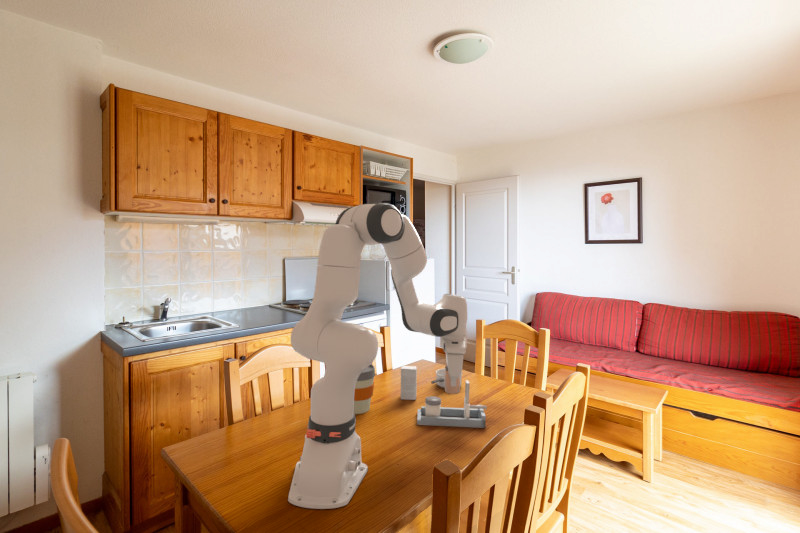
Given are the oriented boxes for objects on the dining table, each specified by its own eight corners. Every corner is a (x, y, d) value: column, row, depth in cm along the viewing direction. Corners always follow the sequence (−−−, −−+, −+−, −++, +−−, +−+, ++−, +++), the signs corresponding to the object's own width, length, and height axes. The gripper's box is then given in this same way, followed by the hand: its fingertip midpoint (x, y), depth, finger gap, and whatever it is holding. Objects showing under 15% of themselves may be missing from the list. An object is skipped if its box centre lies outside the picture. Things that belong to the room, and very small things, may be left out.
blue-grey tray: (485, 427, 124) (485, 415, 124) (417, 424, 126) (417, 412, 125) (481, 416, 133) (481, 404, 133) (417, 413, 135) (417, 401, 134)
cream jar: (441, 423, 127) (441, 402, 127) (424, 422, 127) (425, 402, 127) (440, 416, 132) (440, 396, 132) (424, 415, 133) (425, 395, 132)
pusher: (487, 425, 126) (488, 385, 125) (465, 423, 126) (466, 384, 126) (484, 417, 132) (485, 379, 131) (463, 416, 132) (464, 378, 131)
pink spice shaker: (460, 394, 126) (461, 369, 126) (445, 393, 127) (445, 369, 126) (459, 388, 132) (459, 364, 131) (444, 388, 132) (444, 364, 131)
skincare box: (416, 396, 150) (417, 366, 150) (415, 400, 146) (416, 369, 145) (401, 395, 151) (401, 365, 150) (400, 399, 146) (400, 368, 146)
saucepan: (419, 392, 154) (419, 378, 154) (443, 379, 171) (443, 366, 170) (444, 399, 148) (445, 385, 148) (466, 384, 164) (467, 371, 164)
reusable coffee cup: (357, 419, 129) (358, 375, 128) (332, 409, 136) (332, 368, 135) (381, 407, 139) (382, 366, 138) (356, 398, 146) (357, 360, 145)
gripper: (442, 334, 139) (441, 371, 139) (445, 349, 118) (444, 393, 119) (459, 334, 138) (459, 372, 139) (466, 350, 118) (465, 394, 119)
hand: (452, 382), depth 129 cm, fingers closed on pink spice shaker, 5 cm apart
